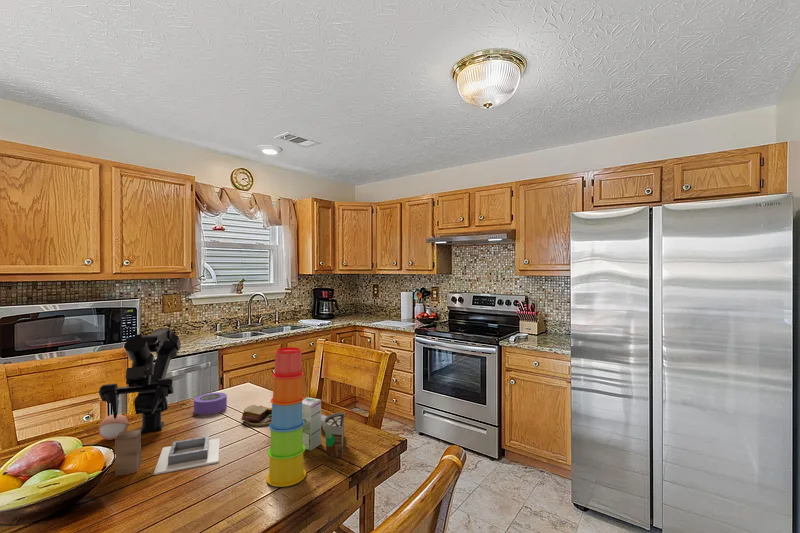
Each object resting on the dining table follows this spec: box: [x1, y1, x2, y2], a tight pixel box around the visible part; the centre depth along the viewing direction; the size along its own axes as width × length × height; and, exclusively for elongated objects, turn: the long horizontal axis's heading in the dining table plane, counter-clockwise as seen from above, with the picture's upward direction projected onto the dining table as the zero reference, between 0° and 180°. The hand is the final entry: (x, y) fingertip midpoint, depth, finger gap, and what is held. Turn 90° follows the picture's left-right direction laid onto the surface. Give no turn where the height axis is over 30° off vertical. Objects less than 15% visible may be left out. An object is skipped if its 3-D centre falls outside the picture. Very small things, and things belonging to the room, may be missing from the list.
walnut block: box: [114, 428, 142, 477], centre depth 107 cm, size 5×5×10 cm
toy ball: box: [98, 413, 130, 441], centre depth 126 cm, size 8×8×8 cm
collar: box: [168, 435, 210, 465], centre depth 115 cm, size 10×10×2 cm
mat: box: [153, 438, 221, 476], centre depth 115 cm, size 16×16×1 cm
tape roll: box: [193, 392, 228, 416], centre depth 152 cm, size 12×12×5 cm
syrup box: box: [302, 396, 322, 452], centre depth 121 cm, size 6×6×14 cm
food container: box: [322, 411, 345, 460], centre depth 117 cm, size 12×6×10 cm, turn 5°
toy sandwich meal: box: [240, 404, 272, 427], centre depth 142 cm, size 12×14×5 cm
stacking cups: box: [266, 346, 307, 488], centre depth 103 cm, size 10×10×35 cm
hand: (133, 415), depth 113 cm, fingers open, 9 cm apart
